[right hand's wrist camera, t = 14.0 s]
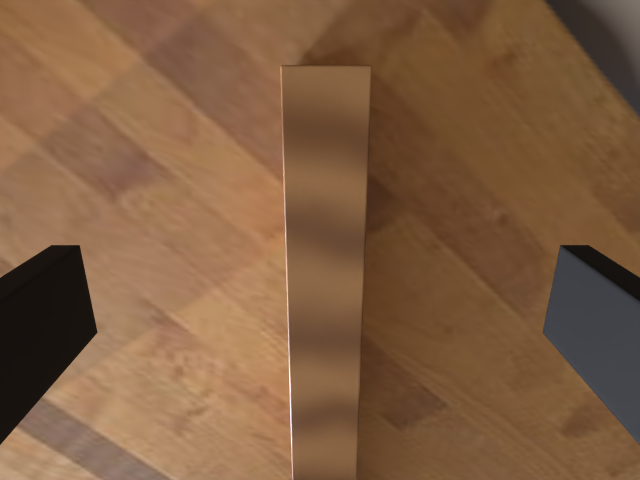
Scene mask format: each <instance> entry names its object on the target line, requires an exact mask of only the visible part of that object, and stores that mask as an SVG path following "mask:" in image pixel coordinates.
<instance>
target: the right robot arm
mask: <svg viewBox="0 0 640 480" xmlns="http://www.w3.org/2000/svg"><path fill="white" fill-rule="evenodd" d="M96 334H97V328H96V323H95V318H94V314H93V309H92V304H91V299H90V294H89V289H88V284H87V279H86V274H85V269H84V265H83V260H82V255H81V250H80V245H51V246H50V247H48V248H46V249H45V250H43V251H42V252H40V253H39V254H37V255H35V256H34V257H32V258H31V259H29V260H28V261H26V262H24V263H23V264H21V265H20V266H18V267H17V268H15V269H13V270H12V271H10V272H9V273H7V274H5V275H4V276H2V277H1V278H0V445H1V443H2V442H3V441H4V440H5V439H6V438H7V436H8V435H9V434H10V433H11V432H12V431H13V430H14V428H15V427H16V426H17V425H18V424H19V423H20V421H21V420H22V419H23V418H24V417H25V416H26V414H27V413H28V412H29V411H30V410H31V409H32V408H33V406H34V405H35V404H36V403H37V402H38V401H39V399H40V398H41V397H42V396H43V395H44V394H45V393H46V391H47V390H48V389H49V388H50V387H51V386H52V384H53V383H54V382H55V381H56V380H57V379H58V377H59V376H60V375H61V374H62V373H63V372H64V371H65V369H66V368H67V367H68V366H69V365H70V364H71V362H72V361H73V360H74V359H75V358H76V357H77V356H78V354H79V353H80V352H81V351H82V350H83V349H84V347H85V346H86V345H87V344H88V343H89V342H90V341H91V339H92V338H93V337H94V336H95V335H96ZM543 334H544V335H545V336H546V337H547V338H548V339H549V341H550V342H551V343H552V344H553V345H554V346H555V347H556V349H557V350H558V351H559V352H560V353H561V354H562V356H563V357H564V358H565V359H566V360H567V361H568V362H569V364H570V365H571V366H572V367H573V368H574V369H575V371H576V372H577V373H578V374H579V375H580V376H581V377H582V379H583V380H584V381H585V382H586V383H587V384H588V386H589V387H590V388H591V389H592V390H593V391H594V393H595V394H596V395H597V396H598V397H599V398H600V399H601V401H602V402H603V403H604V404H605V405H606V406H607V408H608V409H609V410H610V411H611V412H612V413H613V414H614V416H615V417H616V418H617V419H618V420H619V421H620V423H621V424H622V425H623V426H624V427H625V428H626V430H627V431H628V432H629V433H630V434H631V435H632V436H633V438H634V439H635V440H636V441H637V442H638V443H639V445H640V278H639V277H638V276H636V275H635V274H633V273H631V272H630V271H628V270H627V269H625V268H623V267H622V266H620V265H619V264H617V263H616V262H614V261H612V260H611V259H609V258H608V257H606V256H605V255H603V254H601V253H600V252H598V251H597V250H595V249H594V248H592V247H590V246H589V245H560V250H559V255H558V260H557V265H556V269H555V274H554V279H553V284H552V289H551V294H550V299H549V304H548V309H547V314H546V318H545V323H544V328H543Z"/></svg>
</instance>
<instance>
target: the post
mask: <svg viewBox="0 0 640 480" xmlns="http://www.w3.org/2000/svg"><path fill="white" fill-rule="evenodd" d="M280 74H281V109H282V143H283V177H284V211H285V246H286V280H287V314H288V349H289V383H290V417H291V451H292V480H356V476H357V450H358V424H359V397H360V371H361V344H362V318H363V292H364V265H365V239H366V212H367V186H368V160H369V133H370V107H371V80H372V66H371V65H282V66H281V67H280Z"/></svg>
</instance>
